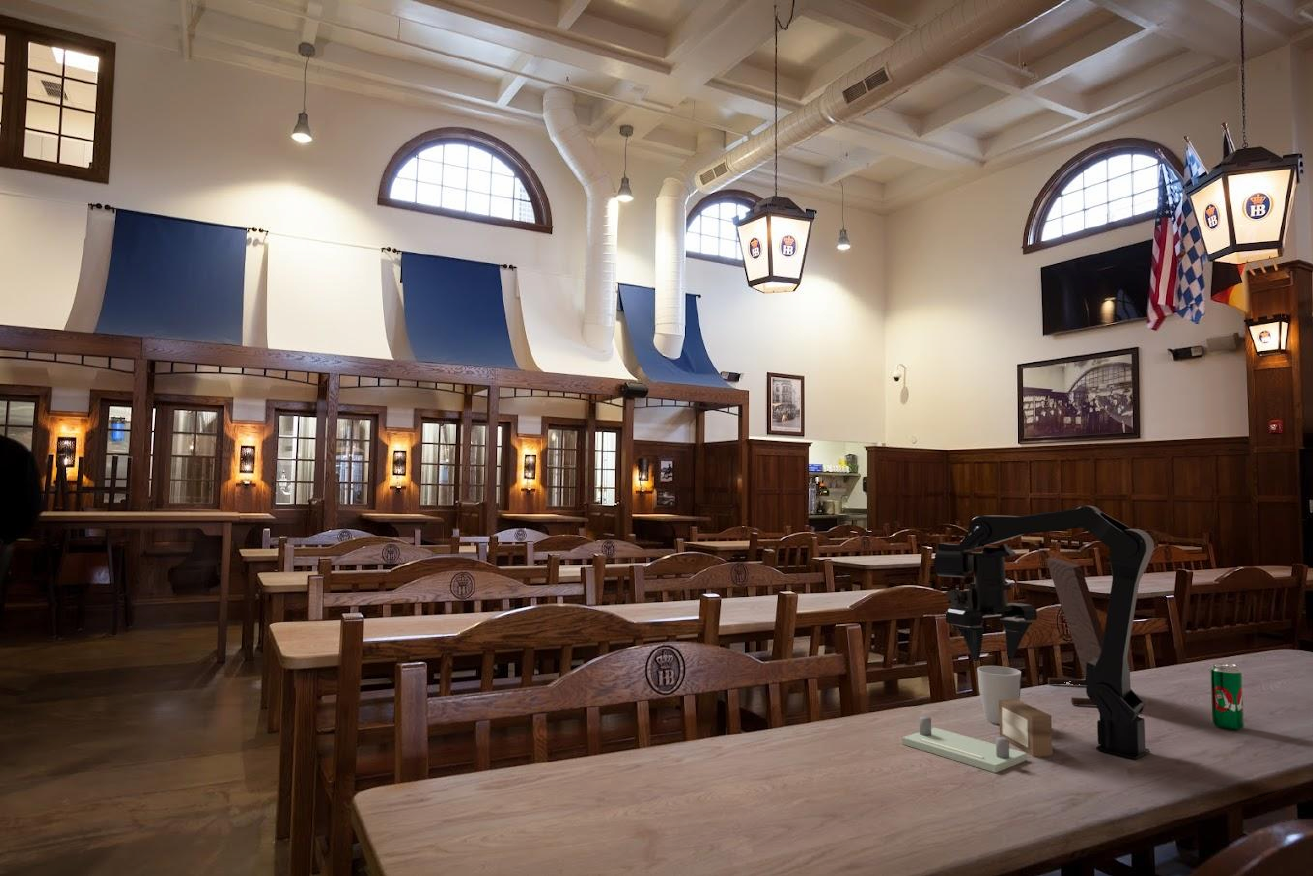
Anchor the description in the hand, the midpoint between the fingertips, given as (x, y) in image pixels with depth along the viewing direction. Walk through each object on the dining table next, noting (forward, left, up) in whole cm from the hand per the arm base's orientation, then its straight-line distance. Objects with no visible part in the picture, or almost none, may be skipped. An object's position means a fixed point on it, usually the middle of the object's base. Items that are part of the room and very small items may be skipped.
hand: (993, 658), depth 156 cm
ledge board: (-5, +19, -13) cm, 23 cm away
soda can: (-28, -36, -13) cm, 47 cm away
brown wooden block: (-10, +7, -13) cm, 18 cm away
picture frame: (0, -38, -13) cm, 40 cm away
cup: (+1, -4, -13) cm, 14 cm away
